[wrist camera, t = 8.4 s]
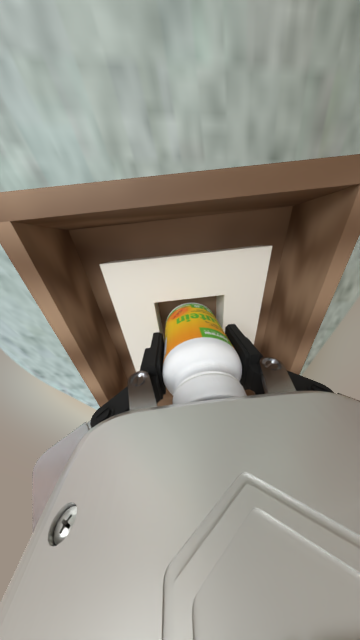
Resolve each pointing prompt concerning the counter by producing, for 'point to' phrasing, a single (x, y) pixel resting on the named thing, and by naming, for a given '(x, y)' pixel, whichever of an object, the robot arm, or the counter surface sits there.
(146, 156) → the counter surface
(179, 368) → the supplement bottle
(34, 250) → the open box
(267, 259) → the socket plate
